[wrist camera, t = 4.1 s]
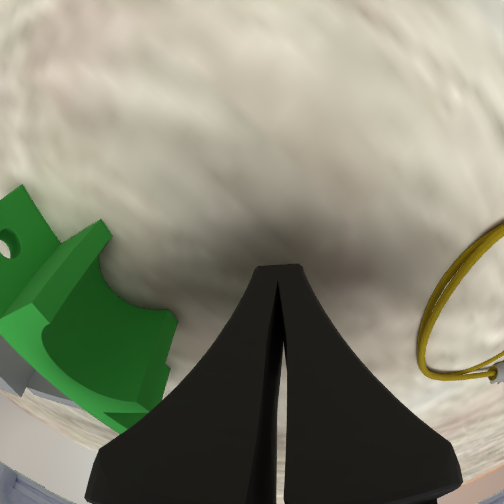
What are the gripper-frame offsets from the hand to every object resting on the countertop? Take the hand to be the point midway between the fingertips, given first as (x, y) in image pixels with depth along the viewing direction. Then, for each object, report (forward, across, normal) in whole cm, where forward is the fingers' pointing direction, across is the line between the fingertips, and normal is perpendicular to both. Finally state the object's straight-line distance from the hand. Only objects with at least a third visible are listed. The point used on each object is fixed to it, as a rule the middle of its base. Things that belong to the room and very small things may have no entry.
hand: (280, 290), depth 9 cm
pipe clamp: (+1, +7, 0) cm, 7 cm away
